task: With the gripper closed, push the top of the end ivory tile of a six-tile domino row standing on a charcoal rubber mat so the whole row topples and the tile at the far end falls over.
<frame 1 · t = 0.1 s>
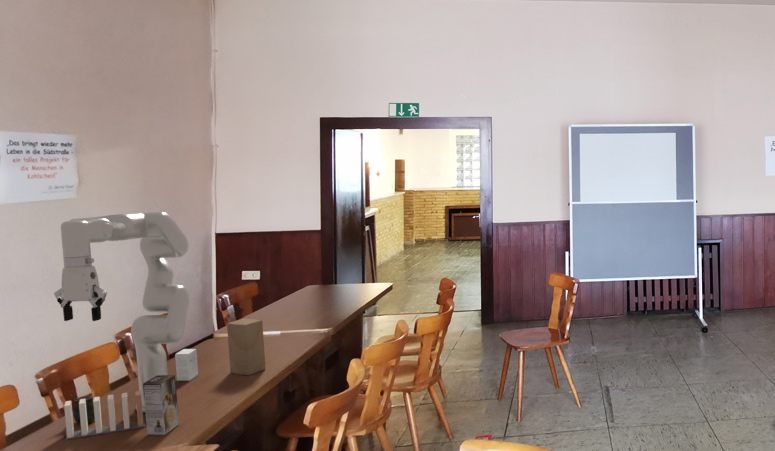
hand: (82, 320, 212), 37 cm above the table, tool pointing down, fingers open, 9 cm apart
domino 4: (113, 428, 226), resting on mat
mate gourd: (85, 422, 235), on the table
domino 5: (127, 426, 228), resting on mat
domino 2: (85, 432, 224), resting on mat
domino 1: (70, 434, 222), resting on mat
small box: (187, 378, 281), on the table
domino 6: (140, 423, 229), resting on mat
wooden block: (248, 371, 286), on the table
domino 3: (99, 430, 225), resting on mat
coffee box: (163, 430, 224), on the table
mat: (106, 430, 226), on the table
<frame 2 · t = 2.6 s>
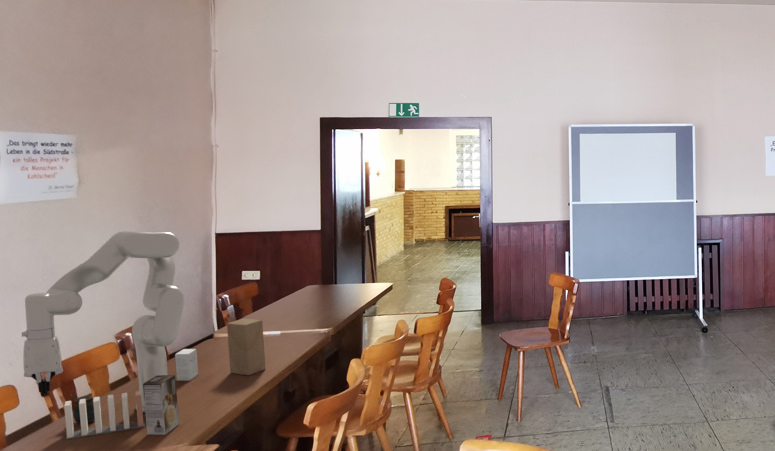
hand: (44, 393, 219), 14 cm above the table, tool pointing down, fingers closed
nothing on the table moved.
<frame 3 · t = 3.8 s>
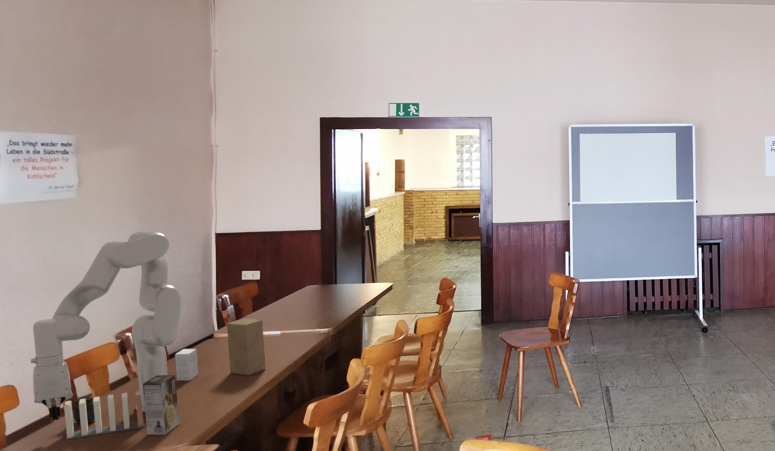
hand: (55, 419, 221), 6 cm above the table, tool pointing down, fingers closed
nothing on the table moved.
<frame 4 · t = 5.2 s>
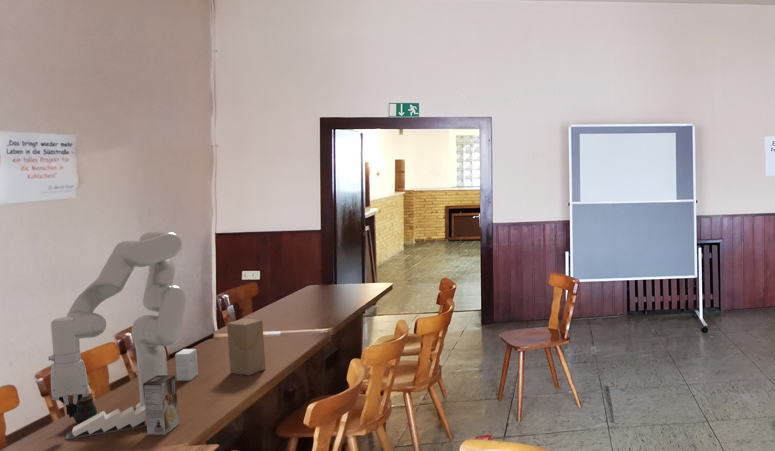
hand: (72, 416, 222), 6 cm above the table, tool pointing down, fingers closed
domino 4: (117, 425, 227), point 1 cm above the table, tilted 67°, touching domino 3, domino 5, mat
domino 5: (131, 423, 228), point 1 cm above the table, tilted 67°, touching domino 4, domino 6
domino 2: (88, 429, 224), point 1 cm above the table, tilted 67°, touching domino 1, domino 3
domino 1: (73, 432, 223), point 1 cm above the table, tilted 68°, touching domino 2, mat
domino 6: (144, 420, 229), point 1 cm above the table, tilted 92°, touching domino 5, mat
domino 3: (103, 427, 225), point 1 cm above the table, tilted 67°, touching domino 2, domino 4, mat
everything else where it was.
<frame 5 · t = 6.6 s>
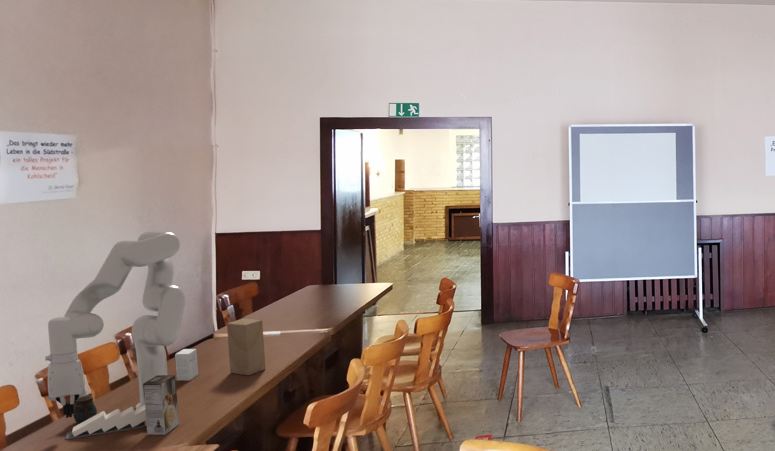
hand: (69, 416, 222), 6 cm above the table, tool pointing down, fingers closed
nothing on the table moved.
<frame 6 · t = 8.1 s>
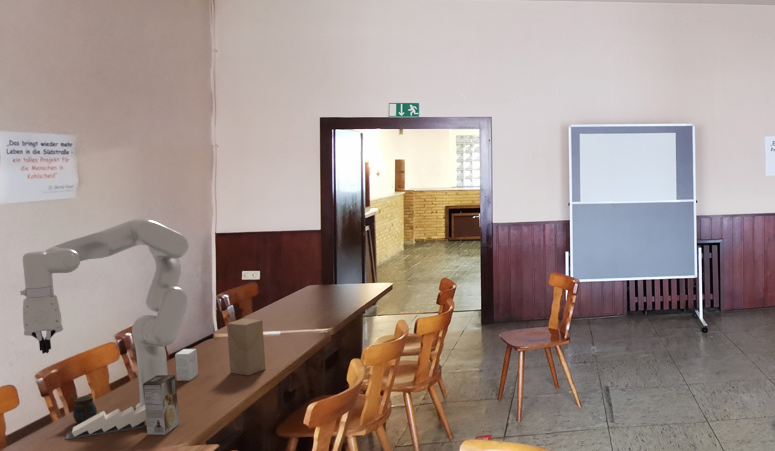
hand: (45, 352, 219), 27 cm above the table, tool pointing down, fingers closed
nothing on the table moved.
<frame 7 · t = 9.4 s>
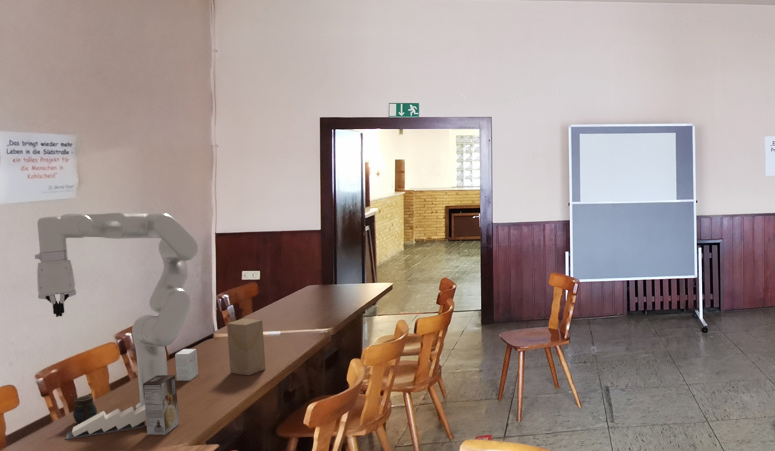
hand: (59, 315, 222), 37 cm above the table, tool pointing down, fingers closed
nothing on the table moved.
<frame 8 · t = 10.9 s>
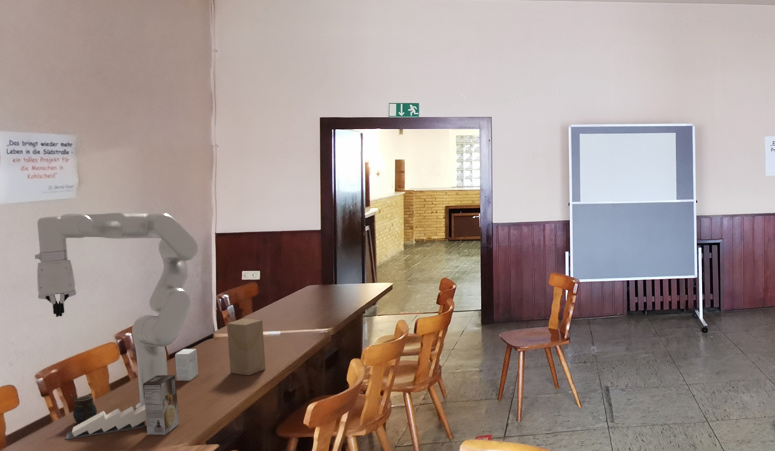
hand: (59, 315, 222), 37 cm above the table, tool pointing down, fingers closed
nothing on the table moved.
at the end: domino 6 tilted 92°; domino 1 tilted 68°; domino 6 touching domino 5, mat, table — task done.
